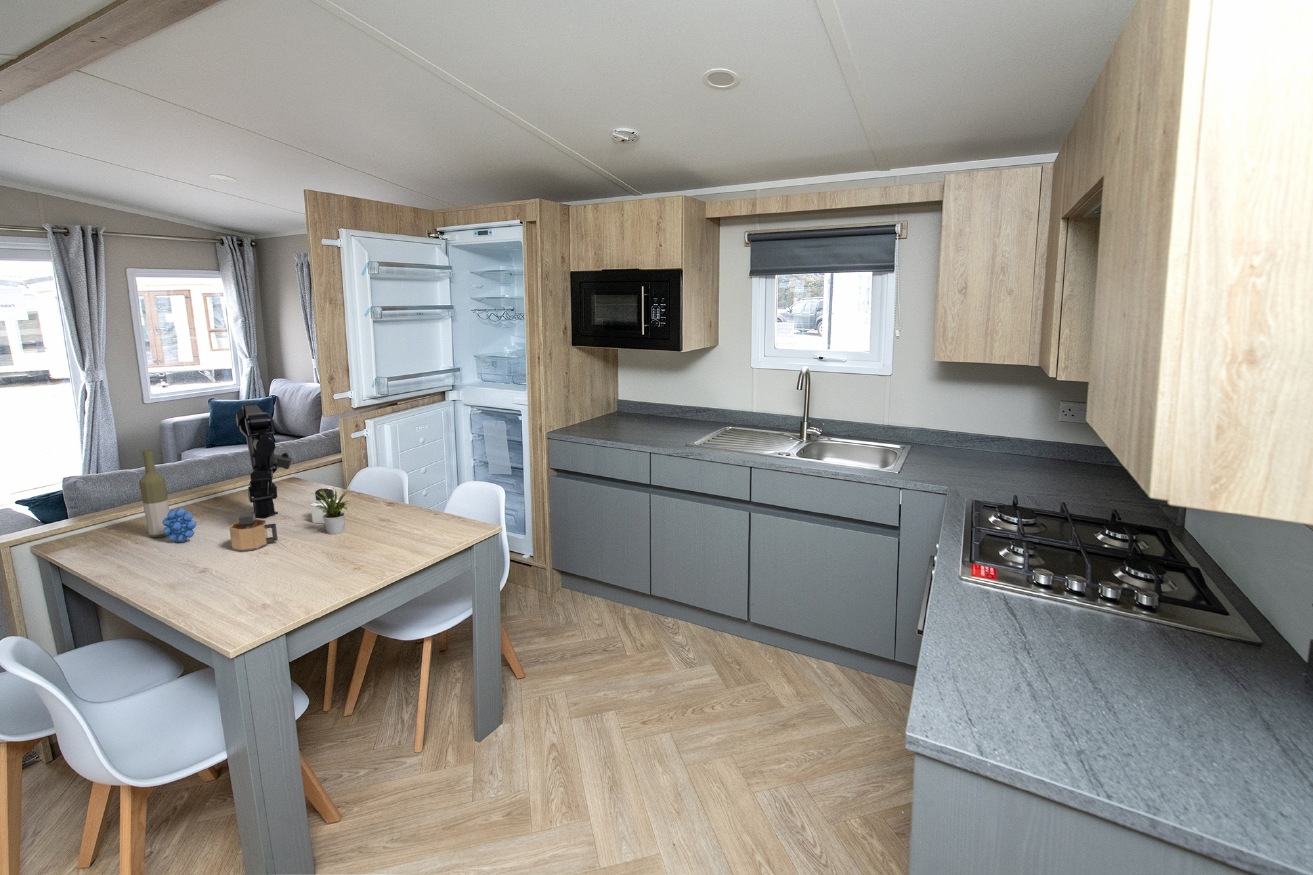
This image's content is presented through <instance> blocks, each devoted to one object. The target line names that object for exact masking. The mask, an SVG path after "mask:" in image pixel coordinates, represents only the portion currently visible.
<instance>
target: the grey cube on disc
mask: <svg viewBox="0 0 1313 875" xmlns="http://www.w3.org/2000/svg"><path fill="white" fill-rule="evenodd" d="M256 519H257V518H256V517H255V513H254V512H249V513H240V514H239V516H238V522H239V526H240V527H242V526H247V528H250V525H254V524H255V522H256Z"/></svg>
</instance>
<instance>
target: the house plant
mask: <svg viewBox="0 0 1313 875" xmlns="http://www.w3.org/2000/svg"><path fill="white" fill-rule="evenodd" d="M334 488H335V487H332V489H333V490H334ZM350 489H351V487H350V488H348V489H346V490H345V491H344V492H343V493H342V494H341V496H339V498H338V491H339V490H337V489H335V490H334V497H333V490H332V497H333V498H332V499H330V501H329V499H328V497H327V495H326V493H325V492H324V491H323V492H324V494H325V495H324V494H323V493H322V492H320V493H321V494H322V496H323V497H324V498H325V499H324V498H322V497H319V496H318V495H317V496H318V498H320V499H321V500H322V501H323V502H324V503H325V504H326V505H327V507H328V508H329V509H327V507H326V506H325V505H324V504H323V503H322V502H321V501H320V500H318V501H319V502H321V503H322V504H323V506H322V505H318V506H316V507H320V508H318V509H321V510H323V509H324V510H323V513H324V512H326V513H327V514H325V515H324V516H323V519H324V522H325V524H324V525H325V529H326V531H327V534H328V535H339V534H342V533H344V532H345V524H346V523H345V522H346V512H344V511H343V509H345V510H346V511H348V507H347V506H346V505H347V504H350V503H349V502H350V500H349V501H348V500H347V501H342V499H343V498H344V497H345V496H346V495H347V493H348V491H349V490H350ZM321 491H322V490H321ZM311 494H313V495H316V494H315V492H311ZM316 498H317V497H316V496H315V497H314V499H316ZM337 500H339V501H338V503H337V505H336V501H337ZM340 502H341V503H340Z"/></svg>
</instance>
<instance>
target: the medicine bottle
mask: <svg viewBox="0 0 1313 875" xmlns="http://www.w3.org/2000/svg"><path fill="white" fill-rule="evenodd" d="M321 490H322V491H321ZM332 490H333V497H334V498H335V496H334V495H335V490H334V489H333V488H331V487H322V488H319V489H317V490H315V492H314V495H315V494H316V495H315V497H317V498H315V502H314V503H311V504H310V510H311V519H312V523H313V524H323V525H325V522H324V519H323V516H324V515H325V514H327V513H326V512H324V513H323V510H324V509H323V510H321V509H318V508H320V507H316V506H318V505H322V506H323V504H324V505H325V506H326V507H327V505H326V504H325V503H324V502H323V501H322V500H321V499H320V498H318V496H319V497H322V498H324V497H323V496H322V494H321V493H320V492H322V493H323V494H324V492H325V493H326V495H327V497H328V499H329V501H330V499H332V498H333V497H332ZM323 491H324V492H323ZM317 495H318V496H317ZM324 495H325V494H324ZM324 499H325V498H324ZM318 500H320V501H321V502H322V503H323V504H322V503H321V502H319V501H318ZM338 501H339V499H337V501H336V505H337V503H338ZM340 503H342V501H341V502H340ZM327 509H329V508H328V507H327Z"/></svg>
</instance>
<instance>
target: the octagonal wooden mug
mask: <svg viewBox="0 0 1313 875" xmlns="http://www.w3.org/2000/svg"><path fill="white" fill-rule="evenodd" d="M255 519H256V522H255V524H254V525H250V528H247V526H242V527H240V526H239V521H238V522H235V523H232V524H231V525H230V527H229V534H230V541H231V548H232V550H233V551H234V552H238V553H245V552H253V551H257V549H258V550H261V549H263V548H265V547H267V546H268V545H269V543H270V542H277V541H278V540H279V539H278V532H277V531H278V529H277V523H270V524H269V523H268V524H267V521H266V519H261V518H255ZM267 529H271V534H272V536H271V537H268V530H267Z"/></svg>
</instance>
